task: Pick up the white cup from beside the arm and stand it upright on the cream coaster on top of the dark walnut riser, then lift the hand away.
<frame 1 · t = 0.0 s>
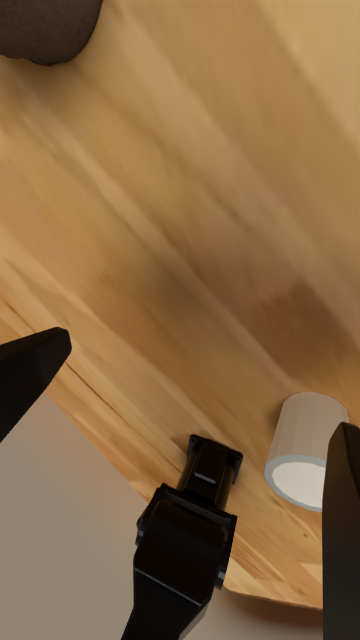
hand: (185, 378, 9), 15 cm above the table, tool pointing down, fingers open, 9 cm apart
white cup: (313, 412, 27), on the table
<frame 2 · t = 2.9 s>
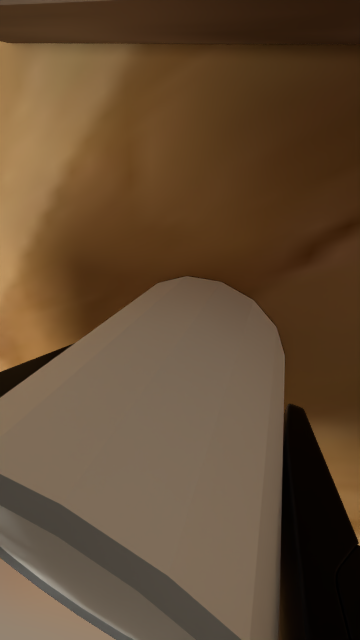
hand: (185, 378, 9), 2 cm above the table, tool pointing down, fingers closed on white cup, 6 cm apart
white cup: (203, 346, 11), on the table, touching gripper
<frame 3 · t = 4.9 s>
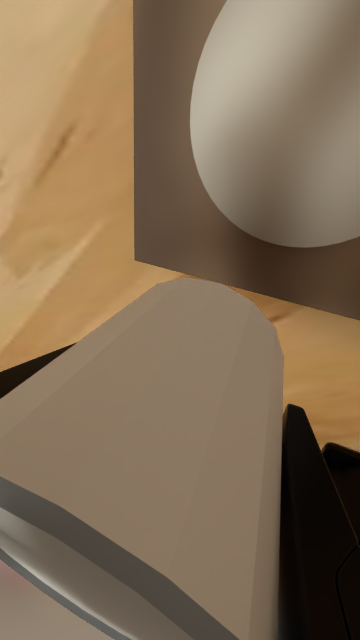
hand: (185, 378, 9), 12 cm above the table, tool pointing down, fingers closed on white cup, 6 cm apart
walnut riser: (317, 118, 14), on the table
white cup: (202, 346, 11), point 10 cm above the table, touching gripper
when the fingers open (6 cm above the table, at t = 7.1 s): white cup drops 1 cm, resting on walnut riser.
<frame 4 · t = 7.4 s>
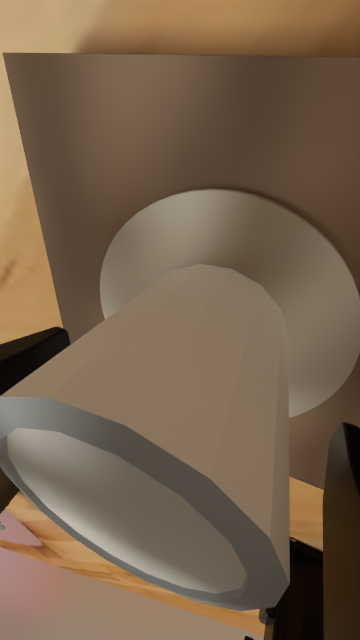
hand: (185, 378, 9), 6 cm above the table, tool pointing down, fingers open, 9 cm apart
walnut riser: (232, 289, 14), on the table
white cup: (212, 329, 12), point 3 cm above the table, touching walnut riser
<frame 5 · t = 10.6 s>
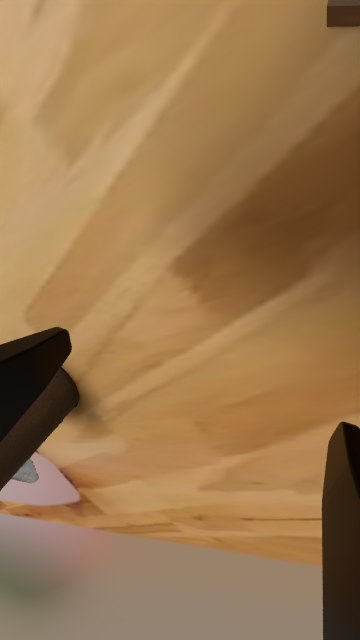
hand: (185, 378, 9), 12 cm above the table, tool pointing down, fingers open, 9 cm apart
pillar candle: (47, 379, 38), on the table
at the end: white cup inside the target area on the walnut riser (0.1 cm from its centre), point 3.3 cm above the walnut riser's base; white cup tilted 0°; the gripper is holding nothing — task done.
